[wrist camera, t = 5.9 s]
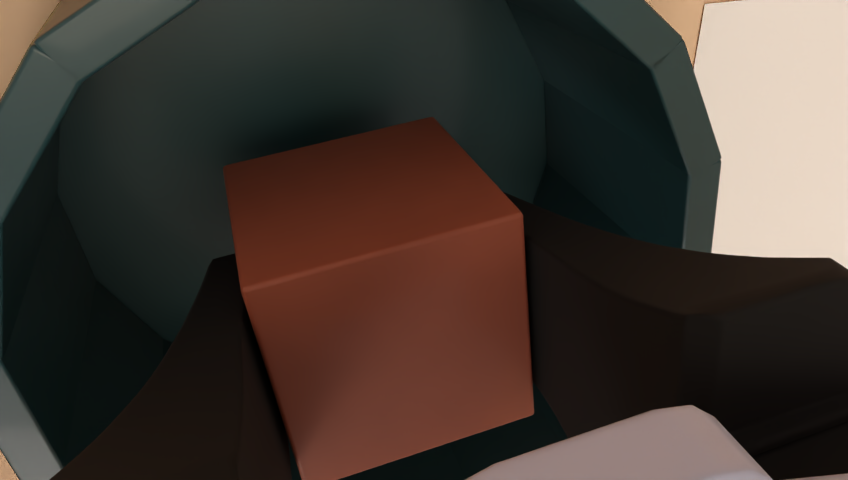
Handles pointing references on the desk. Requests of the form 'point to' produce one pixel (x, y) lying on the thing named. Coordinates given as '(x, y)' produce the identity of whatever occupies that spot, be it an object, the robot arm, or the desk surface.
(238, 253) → the block
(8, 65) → the desk surface
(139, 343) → the pot
